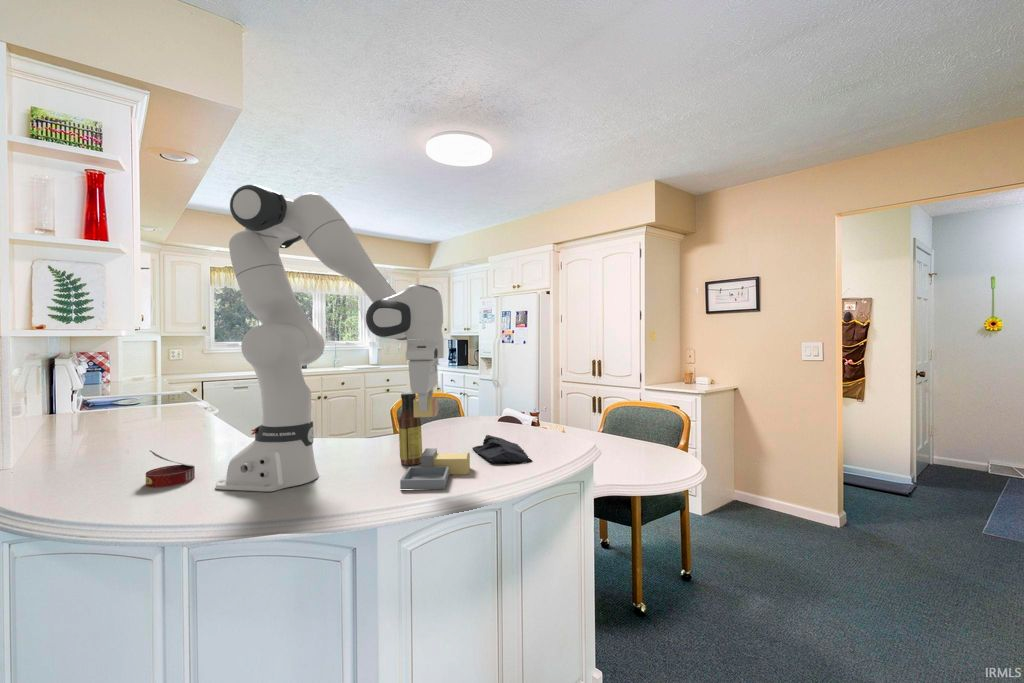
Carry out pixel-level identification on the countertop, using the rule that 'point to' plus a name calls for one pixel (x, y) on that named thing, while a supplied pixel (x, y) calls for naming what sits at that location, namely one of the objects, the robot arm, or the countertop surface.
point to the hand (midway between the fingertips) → (425, 408)
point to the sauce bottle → (409, 432)
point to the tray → (425, 478)
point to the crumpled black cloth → (501, 451)
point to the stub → (431, 410)
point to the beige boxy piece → (446, 461)
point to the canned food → (170, 475)
